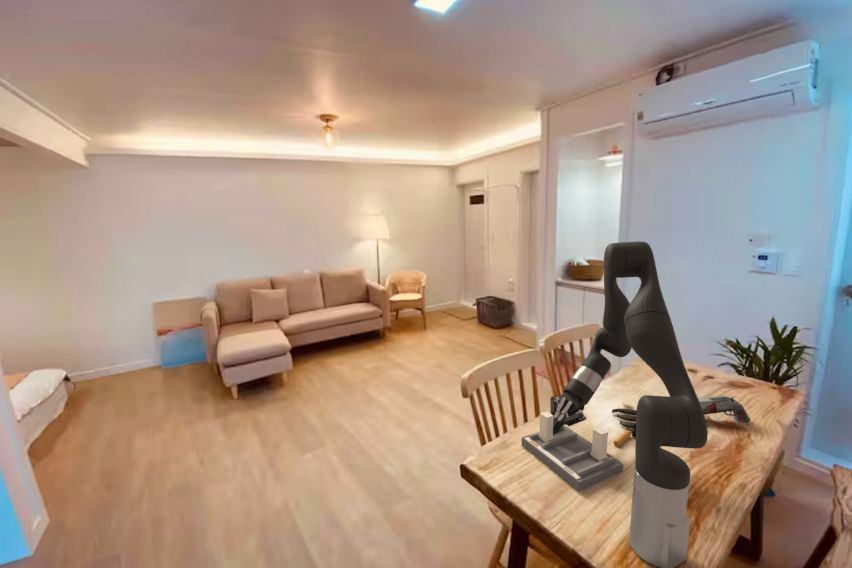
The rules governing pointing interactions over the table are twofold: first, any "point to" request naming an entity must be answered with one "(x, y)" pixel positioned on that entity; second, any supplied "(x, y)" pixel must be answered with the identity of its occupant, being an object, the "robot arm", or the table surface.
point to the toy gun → (724, 407)
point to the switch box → (572, 458)
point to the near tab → (599, 444)
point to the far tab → (546, 427)
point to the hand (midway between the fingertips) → (551, 432)
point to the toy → (626, 424)
